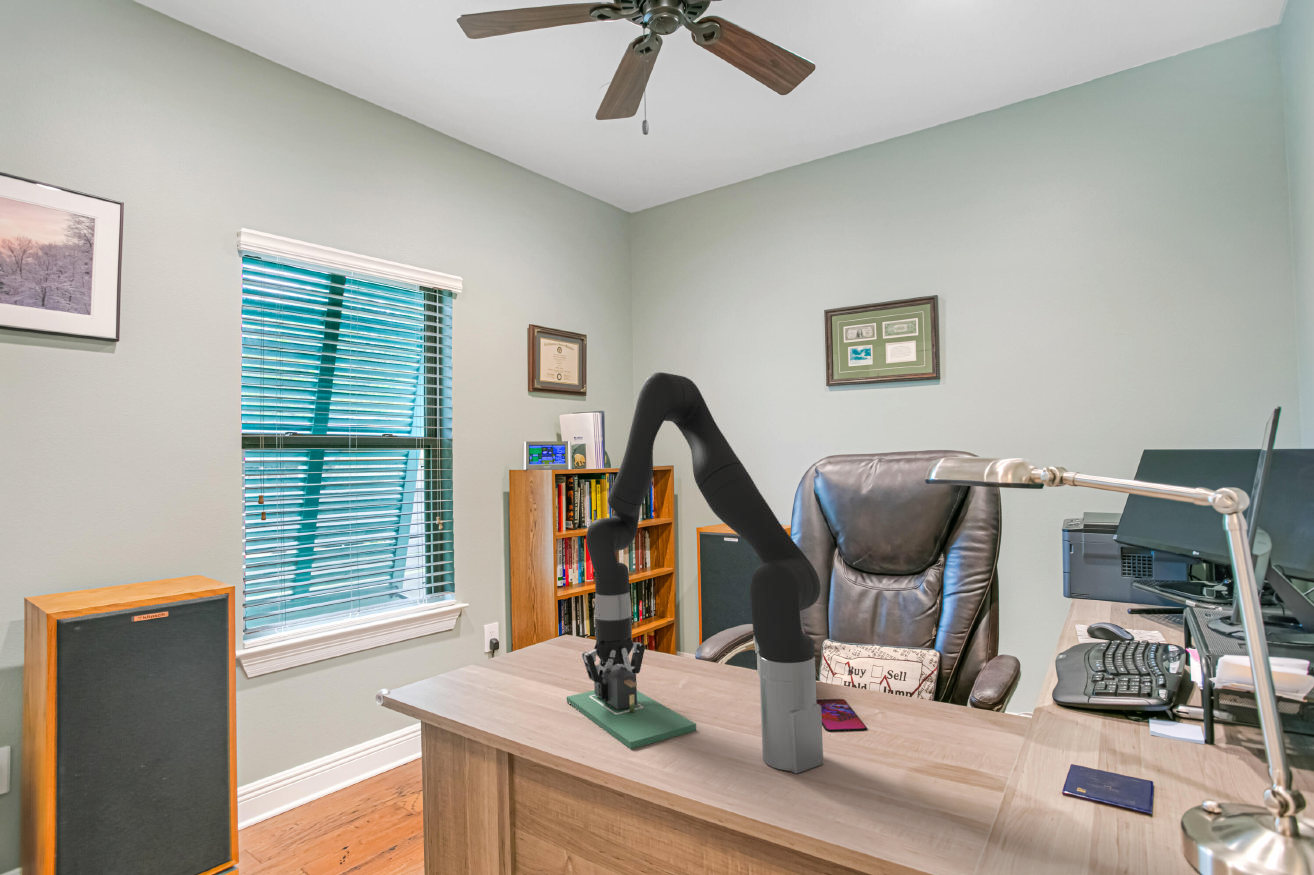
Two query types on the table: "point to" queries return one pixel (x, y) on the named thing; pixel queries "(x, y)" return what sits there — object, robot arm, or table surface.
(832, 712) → the smartphone
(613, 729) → the header board
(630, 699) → the header pins
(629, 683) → the plug housing
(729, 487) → the robot arm
